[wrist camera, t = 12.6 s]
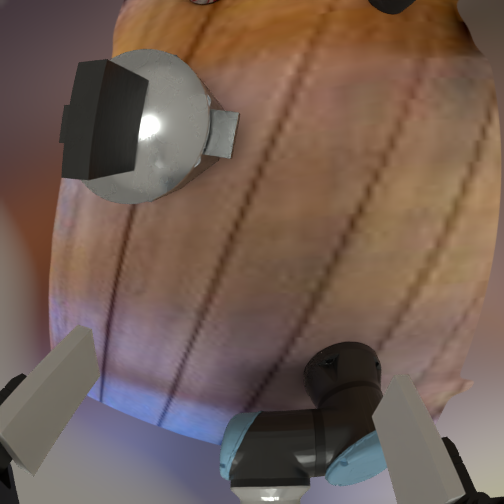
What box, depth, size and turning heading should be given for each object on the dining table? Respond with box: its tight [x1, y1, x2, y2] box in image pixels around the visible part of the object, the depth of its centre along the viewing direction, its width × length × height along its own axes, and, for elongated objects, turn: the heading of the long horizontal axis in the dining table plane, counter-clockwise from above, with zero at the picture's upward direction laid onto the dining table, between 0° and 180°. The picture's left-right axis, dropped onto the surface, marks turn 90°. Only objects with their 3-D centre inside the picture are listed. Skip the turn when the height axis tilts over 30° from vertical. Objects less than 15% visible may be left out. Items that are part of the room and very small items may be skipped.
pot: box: [59, 55, 240, 202], centre depth 34 cm, size 17×23×12 cm
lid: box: [62, 49, 210, 204], centre depth 24 cm, size 18×18×12 cm
